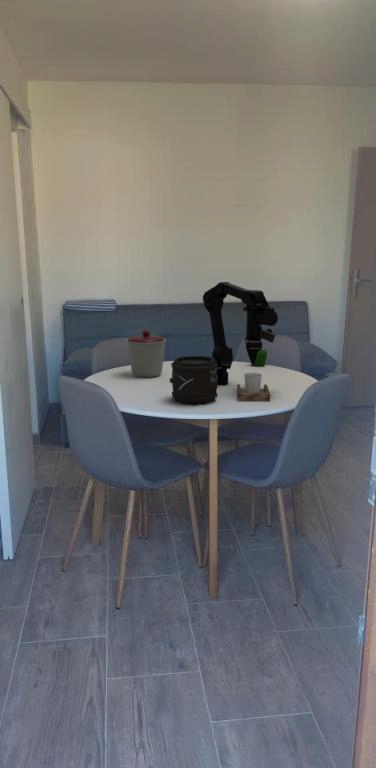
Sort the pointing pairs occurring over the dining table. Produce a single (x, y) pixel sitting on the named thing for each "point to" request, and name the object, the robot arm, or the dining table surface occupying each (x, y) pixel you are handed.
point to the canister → (146, 354)
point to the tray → (253, 394)
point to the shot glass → (252, 382)
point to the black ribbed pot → (194, 380)
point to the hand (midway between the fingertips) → (252, 362)
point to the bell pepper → (261, 358)
